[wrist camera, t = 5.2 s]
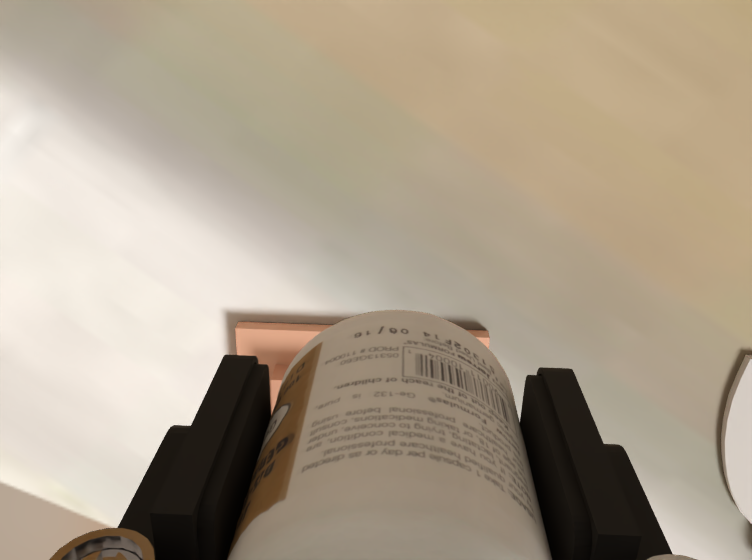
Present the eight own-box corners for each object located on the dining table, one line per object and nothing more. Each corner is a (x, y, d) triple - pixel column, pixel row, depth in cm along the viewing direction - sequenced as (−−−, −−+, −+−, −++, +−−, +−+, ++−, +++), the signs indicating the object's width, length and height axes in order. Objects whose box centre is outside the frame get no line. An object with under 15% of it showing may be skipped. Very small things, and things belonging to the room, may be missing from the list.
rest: (238, 321, 28) (228, 343, 26) (487, 330, 28) (493, 352, 26) (250, 516, 32) (241, 546, 30) (468, 526, 32) (472, 555, 30)
